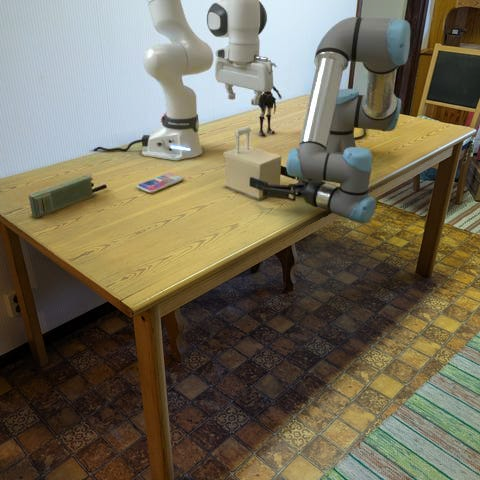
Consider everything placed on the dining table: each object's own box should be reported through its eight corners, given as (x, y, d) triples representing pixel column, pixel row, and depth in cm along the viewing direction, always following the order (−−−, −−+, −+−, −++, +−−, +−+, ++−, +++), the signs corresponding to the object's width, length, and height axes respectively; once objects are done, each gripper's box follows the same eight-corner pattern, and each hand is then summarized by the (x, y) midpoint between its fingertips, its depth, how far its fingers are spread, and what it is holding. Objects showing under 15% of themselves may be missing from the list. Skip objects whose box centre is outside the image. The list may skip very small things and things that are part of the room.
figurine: (257, 139, 205) (260, 61, 191) (247, 135, 209) (249, 59, 194) (282, 131, 214) (286, 57, 199) (272, 128, 218) (275, 55, 203)
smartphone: (184, 177, 167) (150, 191, 157) (184, 180, 167) (151, 194, 157) (168, 171, 171) (134, 185, 161) (168, 174, 171) (135, 188, 161)
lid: (223, 156, 158) (223, 130, 154) (245, 148, 165) (245, 123, 160) (259, 168, 149) (260, 141, 145) (281, 159, 156) (282, 133, 152)
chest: (225, 187, 163) (224, 156, 158) (246, 178, 169) (246, 149, 164) (258, 200, 154) (259, 168, 149) (279, 191, 161) (281, 160, 156)
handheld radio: (30, 215, 144) (102, 188, 161) (37, 219, 142) (109, 191, 159) (26, 193, 140) (100, 168, 157) (33, 197, 138) (107, 171, 155)
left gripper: (279, 56, 140) (276, 106, 147) (226, 47, 152) (226, 94, 159) (264, 59, 136) (262, 110, 143) (211, 50, 148) (212, 97, 155)
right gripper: (294, 221, 137) (237, 198, 150) (344, 194, 153) (289, 175, 166) (296, 196, 133) (237, 174, 146) (347, 171, 150) (290, 153, 162)
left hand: (243, 102), depth 151 cm, fingers open, 8 cm apart
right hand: (264, 175), depth 156 cm, fingers open, 13 cm apart
